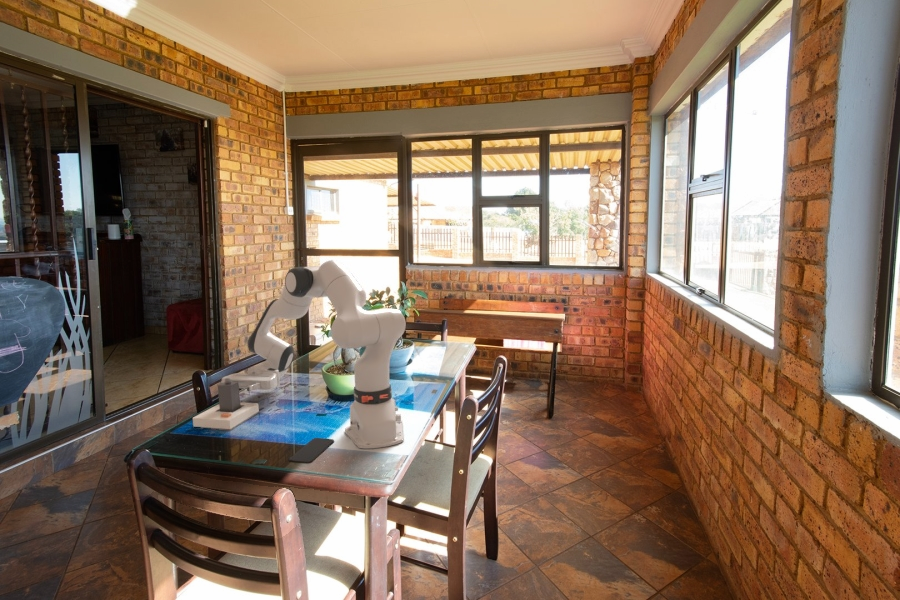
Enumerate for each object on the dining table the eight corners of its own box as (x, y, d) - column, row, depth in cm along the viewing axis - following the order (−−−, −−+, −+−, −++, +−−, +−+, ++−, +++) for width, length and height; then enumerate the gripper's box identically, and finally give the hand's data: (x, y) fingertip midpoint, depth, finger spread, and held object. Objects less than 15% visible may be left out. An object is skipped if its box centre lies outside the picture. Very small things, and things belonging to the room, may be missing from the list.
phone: (287, 459, 142) (313, 437, 156) (287, 462, 142) (314, 439, 156) (310, 462, 140) (335, 439, 154) (310, 465, 140) (335, 441, 154)
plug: (228, 413, 178) (225, 376, 176) (241, 414, 177) (237, 376, 175) (220, 418, 173) (217, 380, 171) (233, 419, 172) (229, 380, 170)
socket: (224, 410, 182) (223, 399, 182) (258, 412, 179) (258, 401, 179) (193, 427, 167) (192, 415, 166) (230, 430, 164) (229, 418, 163)
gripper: (234, 367, 193) (210, 378, 180) (282, 370, 189) (261, 381, 176) (235, 383, 194) (212, 395, 181) (283, 386, 190) (262, 398, 177)
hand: (236, 388), depth 178 cm, fingers open, 8 cm apart
